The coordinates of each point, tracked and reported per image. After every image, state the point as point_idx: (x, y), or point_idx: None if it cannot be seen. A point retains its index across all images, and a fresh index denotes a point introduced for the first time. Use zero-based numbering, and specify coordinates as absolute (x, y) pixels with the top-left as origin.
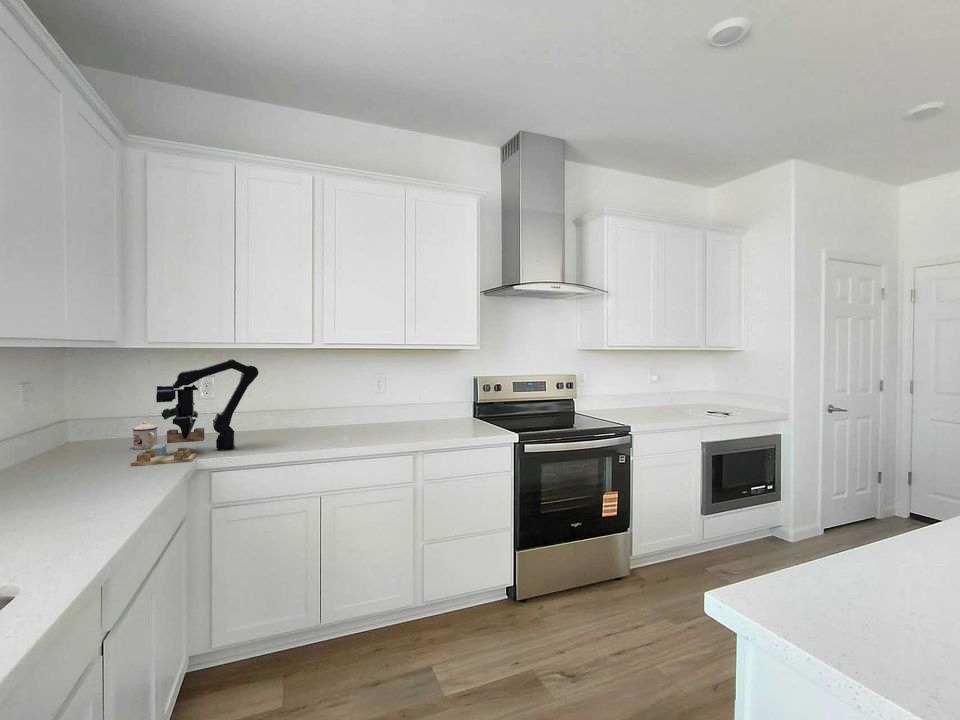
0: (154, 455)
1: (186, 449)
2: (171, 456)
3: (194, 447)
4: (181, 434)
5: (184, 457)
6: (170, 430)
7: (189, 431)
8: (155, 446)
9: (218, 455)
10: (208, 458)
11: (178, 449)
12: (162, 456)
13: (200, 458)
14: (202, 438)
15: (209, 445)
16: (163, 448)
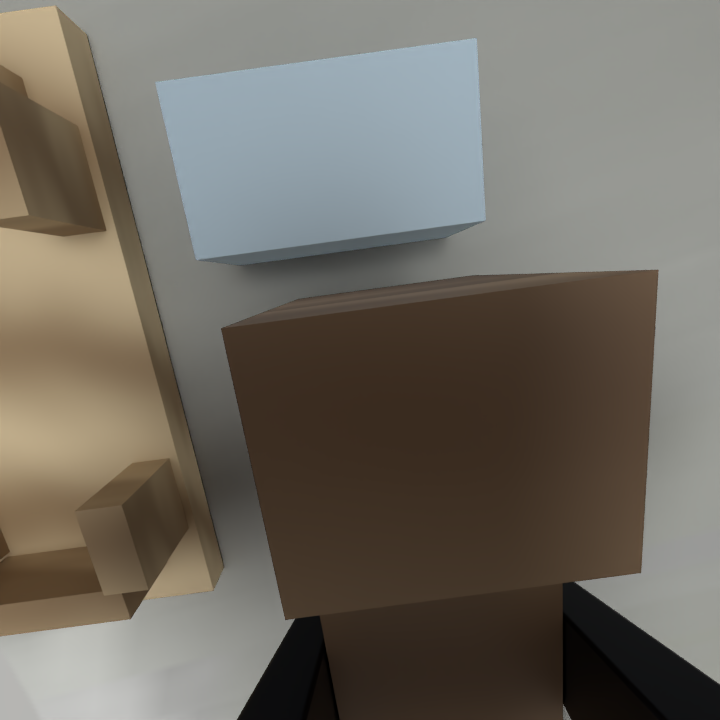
0: (53, 232)
1: (93, 592)
2: (94, 415)
3: (657, 435)
4: (321, 619)
5: (1, 566)
6: (437, 394)
7: (575, 712)
8: (341, 98)
9: (229, 715)
10: (127, 678)
11: (84, 513)
12: (101, 317)
13: (134, 625)
14: None
15: (699, 542)
16: (299, 248)
